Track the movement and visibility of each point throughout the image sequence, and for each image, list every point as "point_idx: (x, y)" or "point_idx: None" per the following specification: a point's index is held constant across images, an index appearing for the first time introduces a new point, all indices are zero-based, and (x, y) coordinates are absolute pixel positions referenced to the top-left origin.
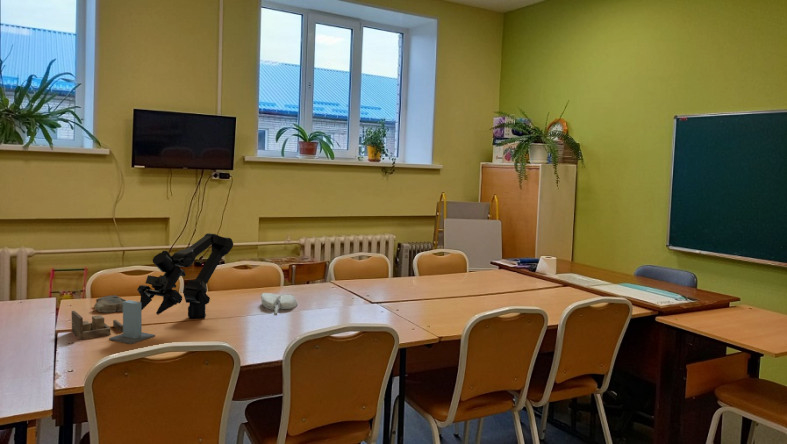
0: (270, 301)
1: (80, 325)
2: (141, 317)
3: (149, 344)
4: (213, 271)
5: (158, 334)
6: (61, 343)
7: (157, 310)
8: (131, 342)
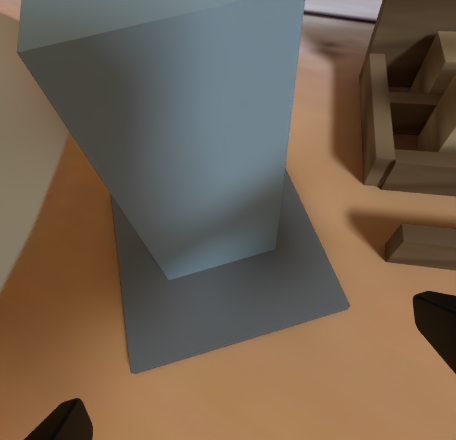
0: None
1: (381, 5)
2: (122, 209)
3: (25, 259)
4: None
5: (160, 426)
6: (344, 29)
7: (52, 425)
8: None
